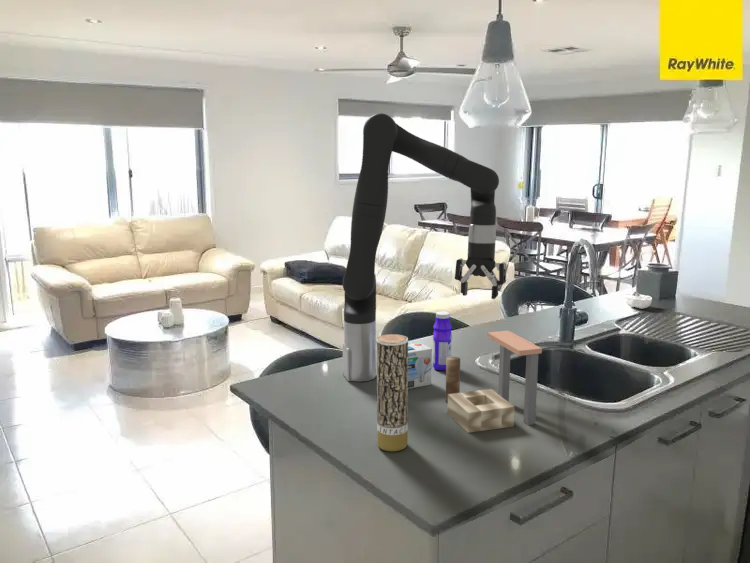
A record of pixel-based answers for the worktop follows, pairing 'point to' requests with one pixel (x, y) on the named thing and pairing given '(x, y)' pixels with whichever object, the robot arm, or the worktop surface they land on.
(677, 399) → the worktop surface
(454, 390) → the peg
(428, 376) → the light bulb box
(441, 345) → the bottle
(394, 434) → the paper tube
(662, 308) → the worktop surface
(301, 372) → the worktop surface
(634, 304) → the cell model
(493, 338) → the wooden top bench
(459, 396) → the socket
